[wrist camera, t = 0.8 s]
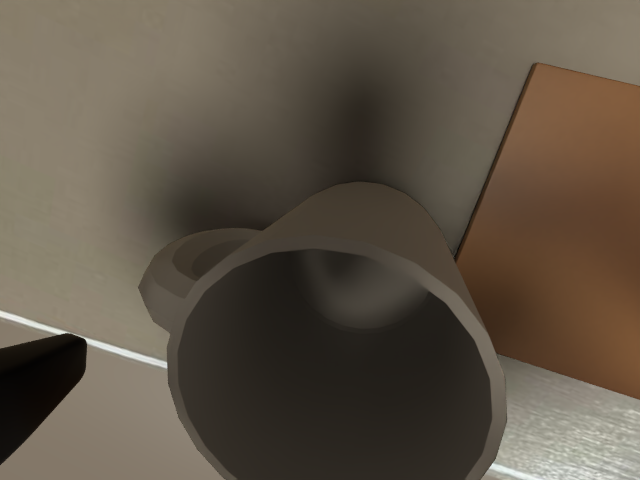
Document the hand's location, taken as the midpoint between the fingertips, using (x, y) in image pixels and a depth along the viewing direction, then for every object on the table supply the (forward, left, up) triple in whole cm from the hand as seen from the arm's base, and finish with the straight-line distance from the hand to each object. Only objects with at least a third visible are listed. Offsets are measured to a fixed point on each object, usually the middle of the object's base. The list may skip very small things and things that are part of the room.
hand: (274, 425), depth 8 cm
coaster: (+4, -10, -9) cm, 14 cm away
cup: (+1, +1, -10) cm, 10 cm away
